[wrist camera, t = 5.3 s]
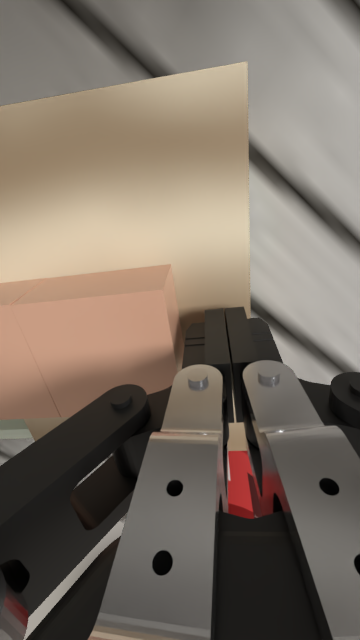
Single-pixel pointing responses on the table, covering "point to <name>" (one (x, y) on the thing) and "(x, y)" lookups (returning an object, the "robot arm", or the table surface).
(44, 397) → the tile back
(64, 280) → the tile front
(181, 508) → the robot arm
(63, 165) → the plate
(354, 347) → the table surface
